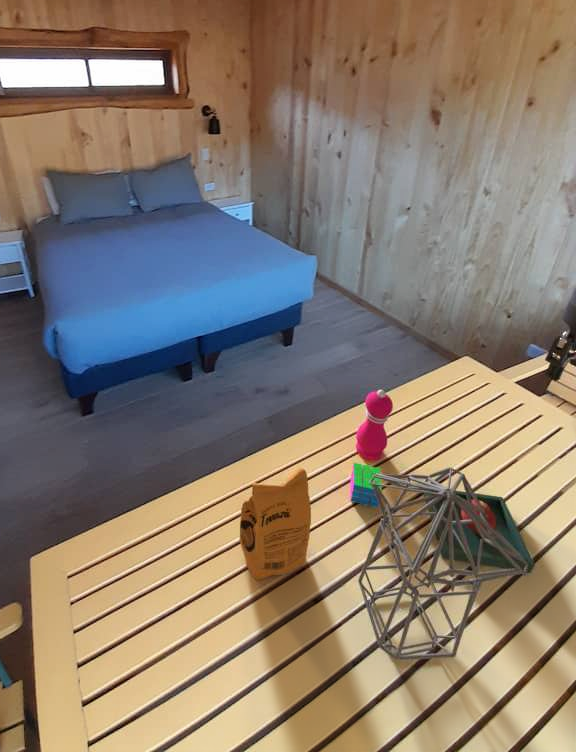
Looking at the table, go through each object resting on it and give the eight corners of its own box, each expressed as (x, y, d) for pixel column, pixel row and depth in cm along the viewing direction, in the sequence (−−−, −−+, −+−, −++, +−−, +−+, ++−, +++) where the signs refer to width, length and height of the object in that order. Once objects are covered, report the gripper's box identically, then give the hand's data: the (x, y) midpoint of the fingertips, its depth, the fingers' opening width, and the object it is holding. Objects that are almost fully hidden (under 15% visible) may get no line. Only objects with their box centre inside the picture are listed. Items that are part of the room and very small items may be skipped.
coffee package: (235, 534, 84) (235, 463, 74) (290, 519, 86) (297, 449, 76) (250, 587, 75) (252, 515, 65) (311, 569, 78) (322, 497, 68)
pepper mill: (353, 458, 99) (365, 398, 90) (354, 436, 105) (365, 377, 96) (384, 466, 97) (399, 405, 88) (383, 442, 103) (397, 383, 94)
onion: (489, 522, 84) (500, 498, 80) (489, 547, 80) (502, 523, 76) (457, 509, 87) (467, 485, 83) (456, 532, 82) (466, 508, 79)
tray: (498, 505, 88) (502, 497, 87) (530, 573, 76) (535, 565, 75) (423, 494, 91) (425, 486, 89) (442, 558, 79) (445, 550, 78)
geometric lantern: (342, 576, 76) (370, 450, 61) (421, 569, 77) (469, 442, 61) (377, 690, 62) (425, 563, 47) (474, 679, 63) (554, 552, 47)
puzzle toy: (377, 508, 88) (381, 491, 86) (350, 501, 90) (353, 484, 87) (376, 484, 93) (380, 468, 90) (350, 478, 95) (353, 462, 92)
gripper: (598, 324, 69) (564, 394, 76) (641, 304, 74) (605, 372, 82) (551, 304, 75) (523, 371, 83) (593, 287, 81) (563, 351, 88)
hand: (564, 371), depth 82 cm, fingers open, 8 cm apart
